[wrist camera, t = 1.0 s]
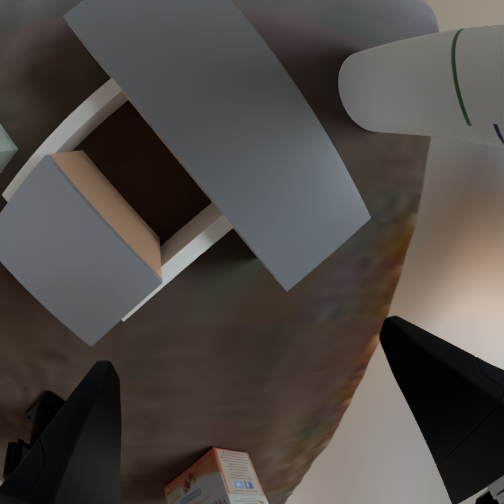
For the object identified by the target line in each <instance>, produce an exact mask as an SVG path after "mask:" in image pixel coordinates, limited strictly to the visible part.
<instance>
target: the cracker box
mask: <svg viewBox="0 0 504 504" xmlns="http://www.w3.org/2000/svg"><path fill="white" fill-rule="evenodd" d="M164 491H165V496H166V502H167V504H268V502H267V500H266V497H265V495H264V493H263V490H262V488H261V485H260V483H259V480H258V478H257V476H256V473H255V471H254V468H253V465H252V463H251V460H250V458H249V455H248V453H247V452H240V451H234V450H227V449H222V448H216V447H212V448H211V449H210V450H209V451H208V452H207V453H206V454H205V455H203V456H202V457H201V458H200V459H199V460H198V461H196V462H195V463H194V464H193V465H192V466H190V467H189V468H188V469H187V470H185V471H184V472H183V473H182V474H180V475H179V476H178V477H177V478H175V479H174V480H173V481H172V482H170V483H169V484H168V485H166V486H165V487H164Z"/></svg>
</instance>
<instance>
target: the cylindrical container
mask: <svg viewBox="0 0 504 504" xmlns="http://www.w3.org/2000/svg"><path fill="white" fill-rule="evenodd" d="M338 89H339V94H340V98H341V101H342V104H343V106H344V108H345V110H346V112H347V113H348V115H349V116H350V117H351V118H352V120H353V121H354V122H355V123H357V124H358V125H359V126H360V127H362V128H364V129H366V130H368V131H373V132H385V133H401V134H413V135H424V136H434V137H442V138H449V139H457V140H464V141H470V142H476V143H482V144H487V145H493V146H498V147H503V148H504V25H496V26H483V27H474V28H466V29H458V30H451V31H445V32H439V33H433V34H428V35H423V36H418V37H413V38H409V39H404V40H400V41H396V42H392V43H388V44H384V45H380V46H377V47H373V48H370V49H366V50H363V51H360V52H356V53H354V54H352V55H350V56H349V57H348V58H347V59H346V60H345V61H344V62H343V64H342V66H341V68H340V71H339V76H338Z"/></svg>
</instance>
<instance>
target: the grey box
mask: <svg viewBox="0 0 504 504" xmlns="http://www.w3.org/2000/svg"><path fill="white" fill-rule="evenodd" d="M0 261H1V263H2V264H3V265H4V266H5V267H6V268H7V269H8V270H9V271H10V273H11V274H12V275H13V276H14V277H15V278H16V279H17V280H18V281H19V282H20V283H21V284H22V285H23V286H24V287H25V288H26V289H27V290H28V291H29V292H30V293H31V294H32V295H33V296H34V297H35V298H36V299H37V300H38V301H39V302H40V303H41V304H42V305H43V306H44V307H45V308H46V309H47V310H48V311H50V312H51V313H52V314H53V315H54V316H55V317H56V318H57V319H58V320H60V321H61V322H62V323H63V324H64V325H65V326H66V327H68V328H69V329H70V330H71V331H72V332H74V333H75V334H76V335H77V336H78V337H80V338H81V339H82V340H83V341H85V342H86V343H87V344H88V345H90V346H91V347H92V346H93V345H94V344H95V343H96V342H97V341H98V340H99V339H100V338H102V337H103V336H104V335H105V334H106V333H107V332H108V331H109V330H110V329H111V328H113V327H114V326H115V325H116V324H117V323H118V322H119V321H120V320H121V319H122V318H124V317H125V316H126V315H127V314H128V313H129V312H130V311H131V310H132V309H134V308H135V307H136V306H137V305H138V304H139V303H140V302H141V301H143V300H144V299H145V298H146V297H147V296H148V295H149V294H151V293H152V292H153V291H154V290H155V289H156V288H157V287H158V286H160V285H161V284H162V271H161V255H160V238H159V237H158V236H157V234H156V233H155V232H154V231H153V230H152V229H151V228H150V227H149V226H148V225H147V224H146V222H145V221H144V220H143V219H142V218H141V217H140V216H139V215H138V214H137V213H136V211H135V210H134V209H133V208H132V207H131V206H130V205H129V204H128V202H127V201H126V200H125V199H124V198H123V197H122V196H121V194H120V193H119V192H118V191H117V190H116V189H115V188H114V186H113V185H112V184H111V183H110V182H109V181H108V179H107V178H106V177H105V176H104V175H103V174H102V172H101V171H100V170H99V169H98V168H97V167H96V165H95V164H94V163H93V162H92V161H91V159H90V158H89V157H88V156H87V155H86V153H85V152H84V151H83V150H81V151H72V152H63V153H56V154H48V155H45V156H44V157H43V159H42V160H41V161H40V162H39V163H38V164H37V166H36V167H35V168H34V169H33V170H32V172H31V173H30V174H29V175H28V177H27V178H26V179H25V180H24V182H23V183H22V184H21V185H20V187H19V188H18V189H17V191H16V192H15V193H14V195H13V196H12V197H11V199H10V200H9V201H8V203H7V204H6V206H5V207H4V209H3V210H2V211H1V213H0Z"/></svg>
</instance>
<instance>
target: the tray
mask: <svg viewBox="0 0 504 504" xmlns="http://www.w3.org/2000/svg"><path fill="white" fill-rule="evenodd" d="M18 150H19V149H18V148H17V147H16V145H15V144H14V142H13V141H12V140H11V138H10V137H9V135H8V134H7V133H6V131H5V130H4V128H3V127H2V125H1V124H0V173H1V172H2V171H3V169H4V168H5V167H6V165H7V164H8V163H9V161H10V160H11V159H12V157H13V156H14V155H15V154H16V152H17V151H18Z"/></svg>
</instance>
